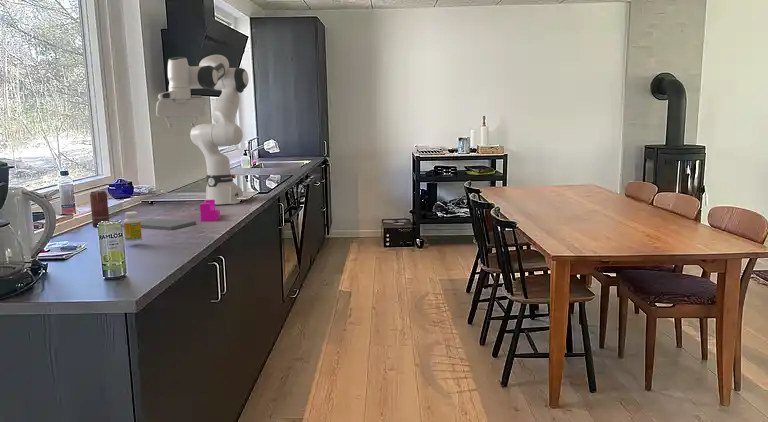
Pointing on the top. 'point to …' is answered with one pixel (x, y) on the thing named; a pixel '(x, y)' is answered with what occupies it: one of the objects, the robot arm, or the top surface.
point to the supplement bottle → (132, 227)
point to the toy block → (209, 211)
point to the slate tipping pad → (165, 223)
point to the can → (99, 207)
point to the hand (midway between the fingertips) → (182, 127)
